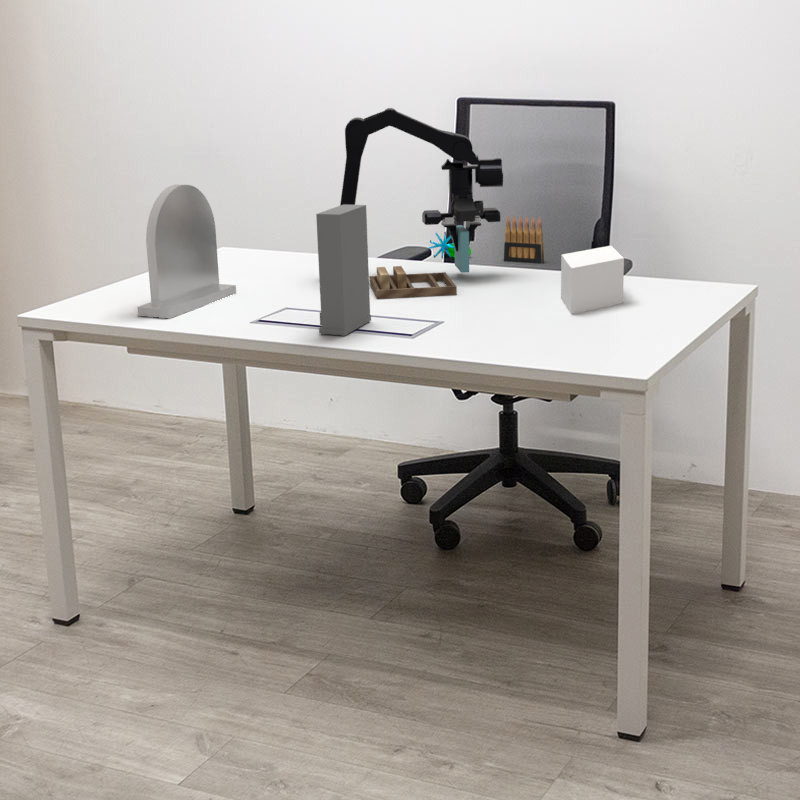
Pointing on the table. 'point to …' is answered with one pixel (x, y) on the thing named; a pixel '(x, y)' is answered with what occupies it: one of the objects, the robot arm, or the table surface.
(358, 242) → the tall grey pillar
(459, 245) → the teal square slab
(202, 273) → the award
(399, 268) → the oak offcut
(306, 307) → the table surface
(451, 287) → the rack
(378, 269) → the pine offcut
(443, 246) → the multicoloured piece
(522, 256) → the ammunition clip
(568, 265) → the white rectangular block
